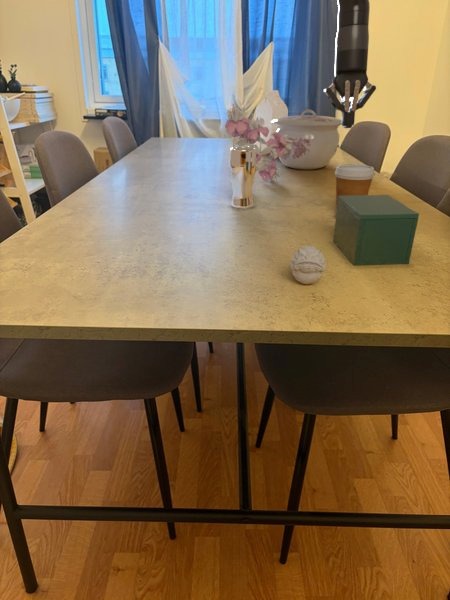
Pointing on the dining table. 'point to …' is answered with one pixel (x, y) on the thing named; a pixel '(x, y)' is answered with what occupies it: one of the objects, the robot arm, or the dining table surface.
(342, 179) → the disposable coffee cup
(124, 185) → the dining table surface
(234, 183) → the beer glass
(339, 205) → the green box
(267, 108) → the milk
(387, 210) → the bread bin lid
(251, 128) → the flower
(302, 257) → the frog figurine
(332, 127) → the chamber pot
